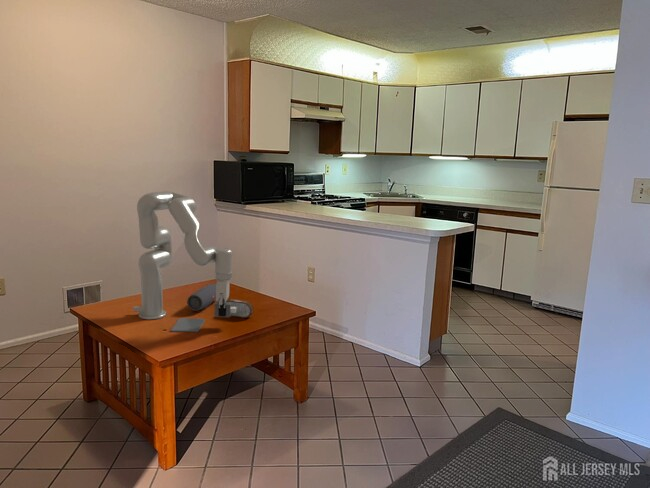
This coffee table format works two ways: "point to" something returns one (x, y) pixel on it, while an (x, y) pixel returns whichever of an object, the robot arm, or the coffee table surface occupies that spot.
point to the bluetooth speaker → (202, 297)
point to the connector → (228, 309)
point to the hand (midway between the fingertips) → (222, 314)
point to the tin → (241, 308)
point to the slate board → (187, 325)
